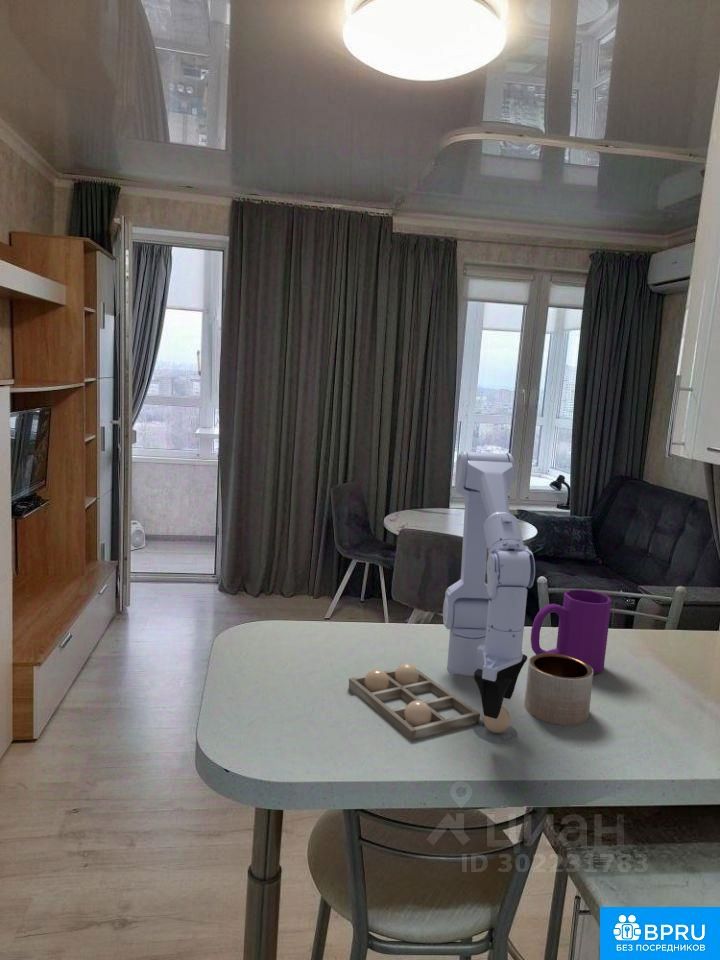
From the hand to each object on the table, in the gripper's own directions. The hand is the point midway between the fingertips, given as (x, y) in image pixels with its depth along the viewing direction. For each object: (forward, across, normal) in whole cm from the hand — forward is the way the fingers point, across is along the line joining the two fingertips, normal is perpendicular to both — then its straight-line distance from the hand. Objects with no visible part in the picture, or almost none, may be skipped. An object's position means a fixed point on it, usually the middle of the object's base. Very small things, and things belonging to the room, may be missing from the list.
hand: (497, 706), depth 111 cm
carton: (+6, -1, -15) cm, 16 cm away
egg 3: (+5, +5, -12) cm, 14 cm away
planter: (+6, -14, +7) cm, 16 cm away
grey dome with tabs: (+6, 0, 0) cm, 6 cm away
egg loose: (+4, 0, 0) cm, 4 cm away
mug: (+6, -37, +4) cm, 37 cm away
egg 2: (+5, -8, -19) cm, 21 cm away
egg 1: (+5, -2, -22) cm, 23 cm away
